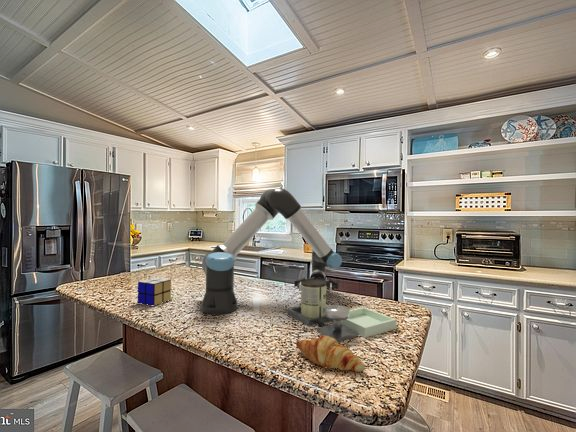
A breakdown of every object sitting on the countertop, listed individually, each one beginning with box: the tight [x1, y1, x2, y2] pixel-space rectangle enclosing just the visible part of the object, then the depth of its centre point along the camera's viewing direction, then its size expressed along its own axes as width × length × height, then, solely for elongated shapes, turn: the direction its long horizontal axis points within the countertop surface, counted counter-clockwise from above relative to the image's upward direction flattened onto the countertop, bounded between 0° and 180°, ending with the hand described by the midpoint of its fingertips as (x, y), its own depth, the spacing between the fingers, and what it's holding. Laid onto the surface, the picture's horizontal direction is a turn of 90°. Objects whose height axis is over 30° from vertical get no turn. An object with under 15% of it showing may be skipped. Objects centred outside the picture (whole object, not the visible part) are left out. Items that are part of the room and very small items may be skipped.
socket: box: [287, 306, 333, 327], centre depth 115 cm, size 15×15×2 cm
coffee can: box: [300, 278, 327, 319], centre depth 115 cm, size 10×10×14 cm
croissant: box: [295, 334, 366, 373], centre depth 80 cm, size 21×10×8 cm, turn 56°
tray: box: [342, 306, 398, 339], centre depth 106 cm, size 16×16×3 cm
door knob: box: [316, 304, 359, 343], centre depth 101 cm, size 10×15×9 cm, turn 31°
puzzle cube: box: [137, 277, 172, 306], centre depth 131 cm, size 10×10×10 cm
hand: (315, 288), depth 125 cm, fingers open, 13 cm apart
